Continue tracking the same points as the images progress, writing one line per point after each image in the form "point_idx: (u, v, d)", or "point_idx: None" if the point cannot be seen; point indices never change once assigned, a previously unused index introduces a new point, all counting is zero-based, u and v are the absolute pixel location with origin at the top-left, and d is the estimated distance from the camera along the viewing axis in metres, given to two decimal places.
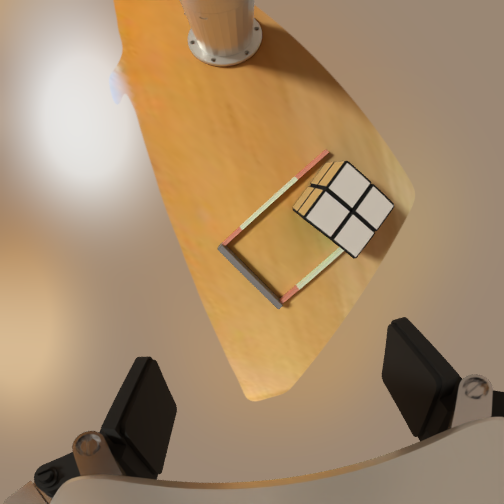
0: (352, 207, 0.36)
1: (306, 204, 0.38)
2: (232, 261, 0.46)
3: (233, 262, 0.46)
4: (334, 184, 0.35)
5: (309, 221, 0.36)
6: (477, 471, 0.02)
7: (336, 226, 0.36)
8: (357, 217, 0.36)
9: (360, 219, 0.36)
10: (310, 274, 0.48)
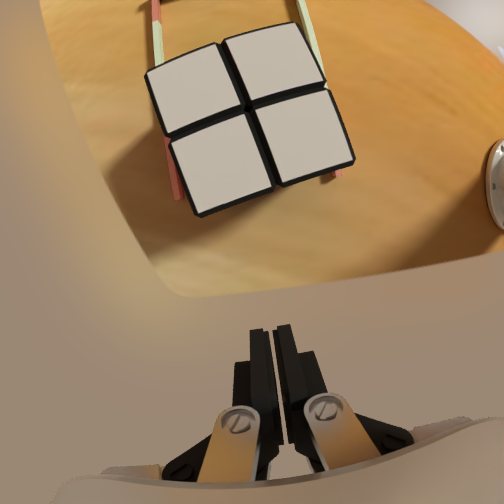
0: (255, 111, 0.14)
1: None
2: None
3: None
4: (325, 105, 0.14)
5: (282, 24, 0.12)
6: (477, 471, 0.02)
7: (238, 59, 0.13)
8: (226, 111, 0.14)
9: (217, 116, 0.14)
10: (161, 45, 0.20)
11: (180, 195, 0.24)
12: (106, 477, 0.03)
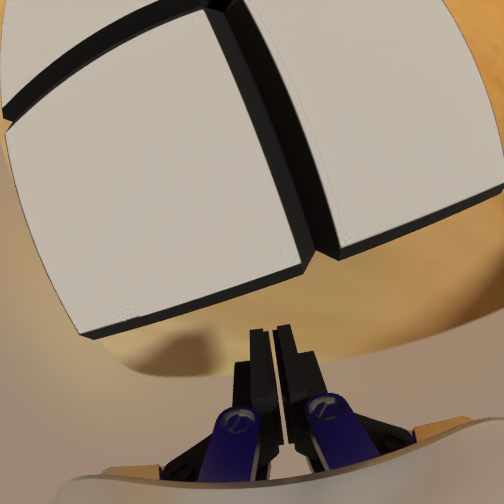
0: (243, 2, 0.03)
1: None
2: None
3: None
4: (445, 24, 0.03)
5: None
6: (477, 471, 0.02)
7: None
8: (147, 13, 0.03)
9: (119, 30, 0.03)
10: None
11: None
12: (106, 477, 0.03)
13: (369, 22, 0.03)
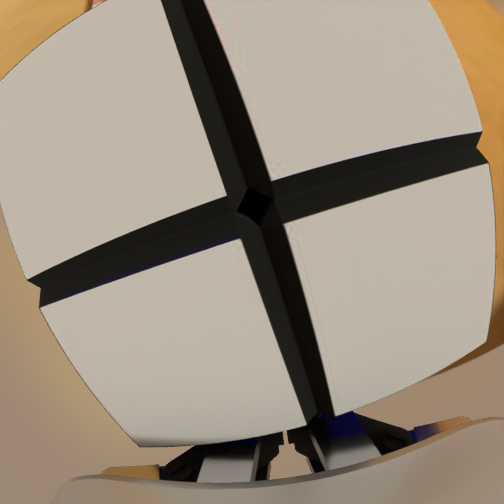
0: (284, 227, 0.04)
1: None
2: None
3: None
4: (482, 211, 0.04)
5: None
6: (477, 471, 0.02)
7: (226, 16, 0.03)
8: (174, 221, 0.04)
9: (144, 237, 0.04)
10: None
11: None
12: (106, 477, 0.03)
13: (406, 245, 0.04)
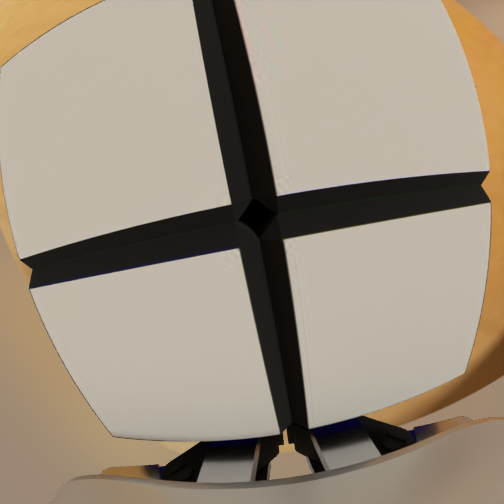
0: (283, 243, 0.04)
1: None
2: None
3: None
4: (478, 248, 0.04)
5: None
6: (477, 471, 0.02)
7: (255, 22, 0.03)
8: (175, 223, 0.04)
9: (143, 234, 0.04)
10: None
11: None
12: (106, 477, 0.03)
13: (400, 273, 0.04)
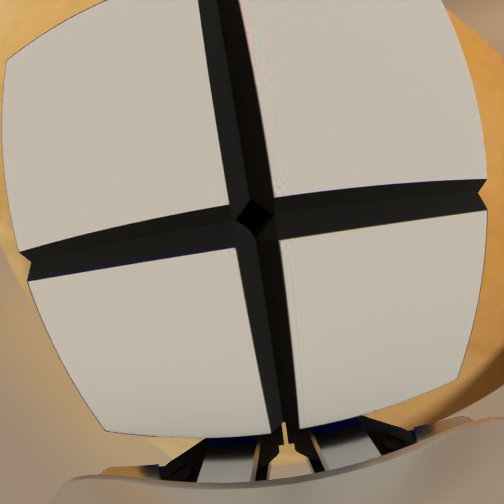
0: (279, 244, 0.04)
1: None
2: None
3: None
4: (473, 256, 0.04)
5: None
6: (477, 471, 0.02)
7: (259, 25, 0.03)
8: (173, 221, 0.04)
9: (142, 231, 0.04)
10: None
11: None
12: (106, 477, 0.03)
13: (393, 278, 0.04)
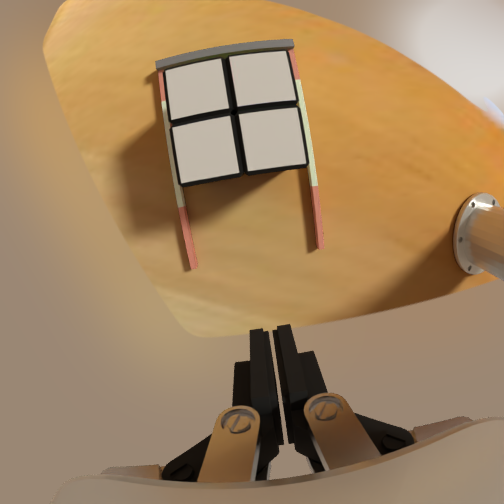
0: (238, 115, 0.19)
1: None
2: (264, 43, 0.23)
3: (262, 43, 0.23)
4: (293, 118, 0.19)
5: (276, 51, 0.17)
6: (477, 471, 0.02)
7: (235, 73, 0.18)
8: (217, 111, 0.18)
9: (210, 114, 0.19)
10: None
11: (196, 264, 0.31)
12: (106, 477, 0.03)
13: (266, 122, 0.19)
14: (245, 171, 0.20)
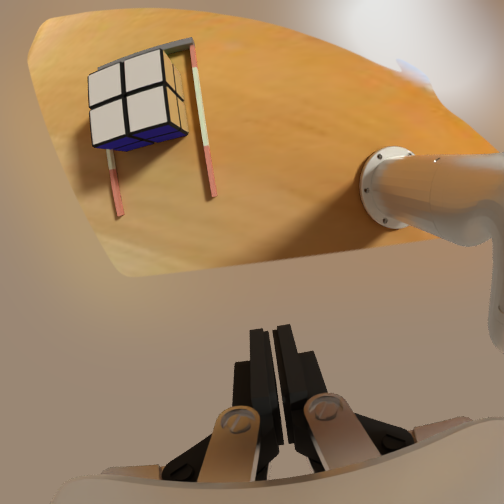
0: (126, 97, 0.25)
1: (169, 67, 0.27)
2: (170, 44, 0.29)
3: (168, 44, 0.30)
4: (159, 93, 0.25)
5: (153, 50, 0.23)
6: (477, 471, 0.02)
7: (126, 71, 0.24)
8: (115, 97, 0.25)
9: (111, 99, 0.25)
10: None
11: (121, 212, 0.37)
12: (106, 477, 0.03)
13: (142, 99, 0.25)
14: (129, 132, 0.26)
